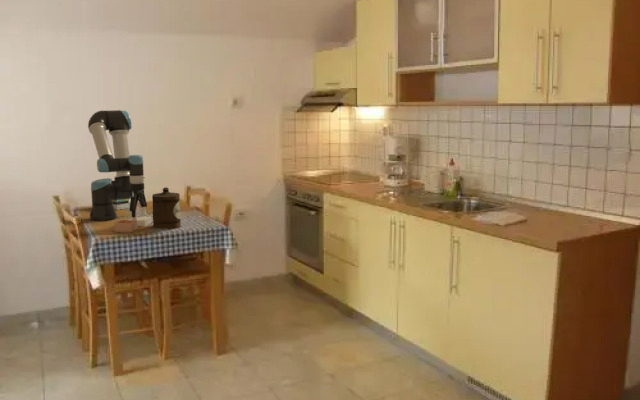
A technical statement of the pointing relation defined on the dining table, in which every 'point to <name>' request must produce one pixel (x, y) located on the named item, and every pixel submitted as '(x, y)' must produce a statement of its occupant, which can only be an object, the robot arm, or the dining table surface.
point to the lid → (142, 220)
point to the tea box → (121, 204)
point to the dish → (126, 226)
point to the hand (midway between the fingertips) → (139, 220)
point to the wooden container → (166, 210)
